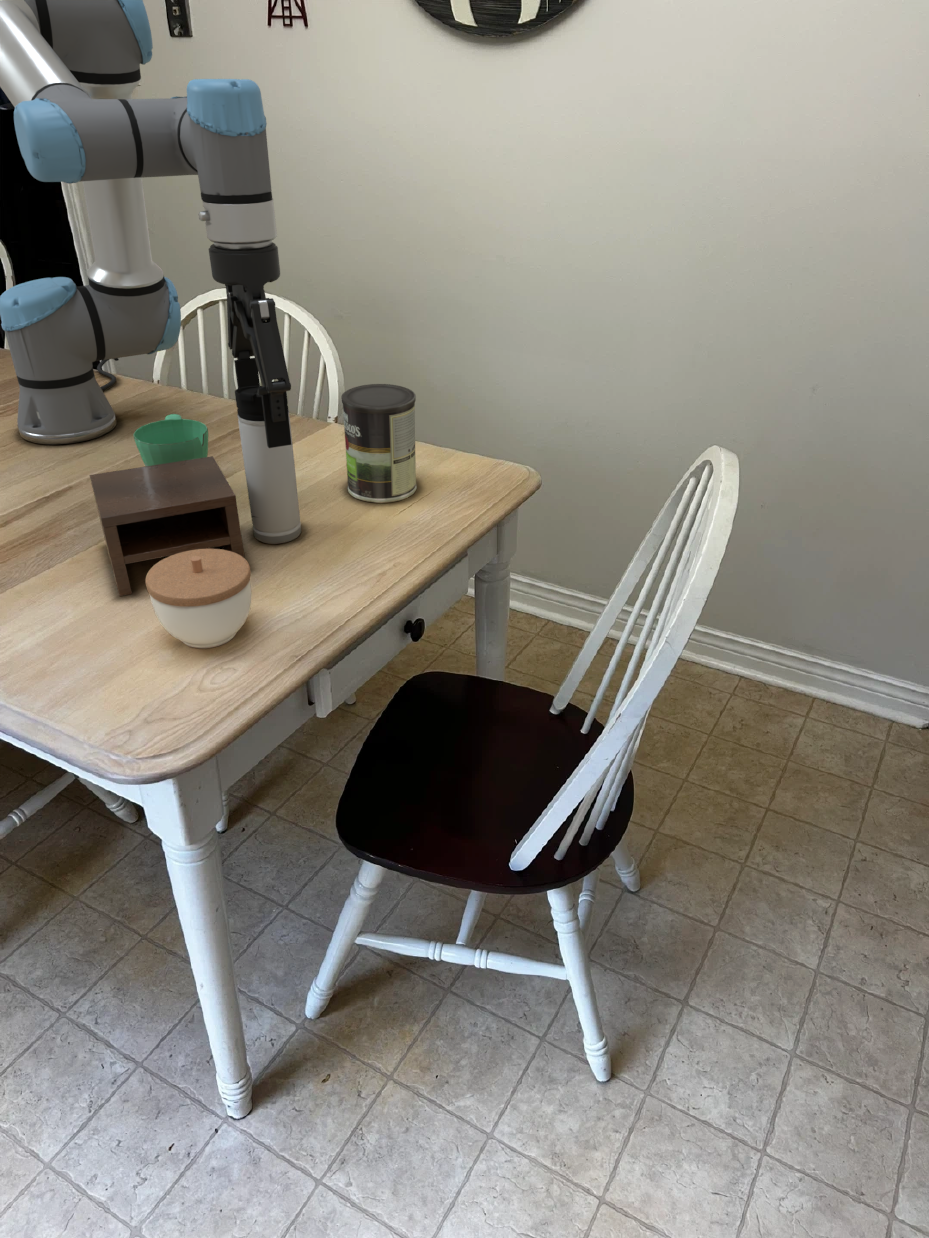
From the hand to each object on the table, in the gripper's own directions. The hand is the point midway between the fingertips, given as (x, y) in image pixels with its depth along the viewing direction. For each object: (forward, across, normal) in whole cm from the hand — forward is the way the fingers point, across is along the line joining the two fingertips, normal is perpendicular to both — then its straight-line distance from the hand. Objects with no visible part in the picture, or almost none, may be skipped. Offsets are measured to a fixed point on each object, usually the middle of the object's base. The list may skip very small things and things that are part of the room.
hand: (265, 427), depth 108 cm
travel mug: (+15, 0, 0) cm, 15 cm away
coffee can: (+15, -8, +18) cm, 25 cm away
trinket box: (+15, +20, -13) cm, 28 cm away
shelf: (+15, +1, -14) cm, 20 cm away
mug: (+15, -19, -9) cm, 26 cm away
